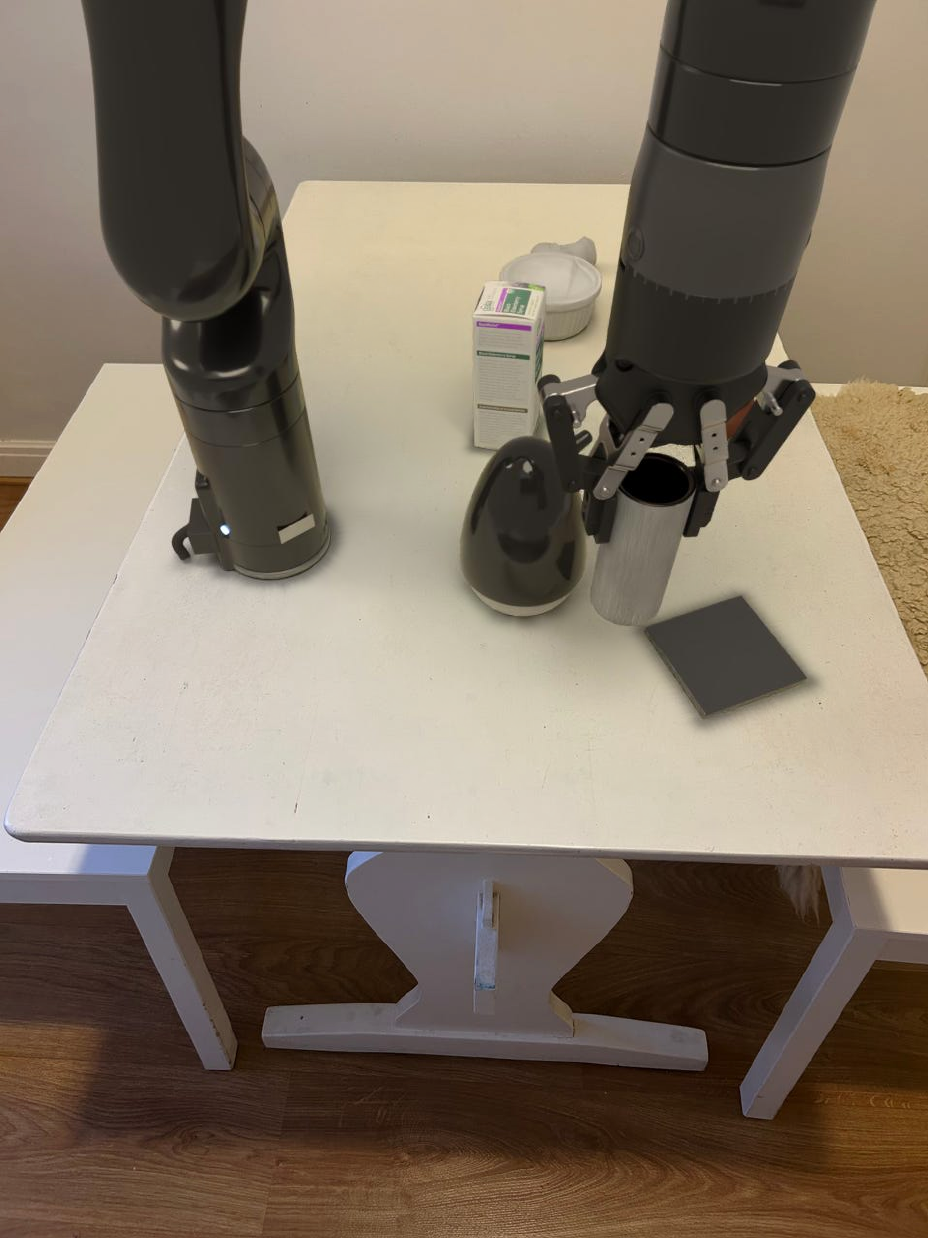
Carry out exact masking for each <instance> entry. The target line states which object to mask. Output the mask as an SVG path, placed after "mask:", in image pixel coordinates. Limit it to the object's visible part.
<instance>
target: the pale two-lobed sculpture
mask: <svg viewBox="0 0 928 1238" xmlns="http://www.w3.org/2000/svg"><path fill="white" fill-rule="evenodd" d="M538 252H558V253H564V254H569V255H573V256H576V257H579V258H581V259H583V260H585V261H587V262H589V263H590V264H592V265H593V266H594V267H595V265H596V263H597V260H598V256H597V255H598V254H597V248H596V245H595V242H594V240H593V239H591V238H589V237H587V236H582V237H581V238H580V239H578V240H577V241H575V242H572V243H566V244H559V243H556V242H548V241H547V242H539V243H537V244H535V245H534V246H533V247H532V248H531V250H530V252H529V254H531V253H538Z"/></svg>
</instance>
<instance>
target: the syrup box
mask: <svg viewBox="0 0 928 1238" xmlns="http://www.w3.org/2000/svg"><path fill="white" fill-rule="evenodd" d="M546 291H547V289H546V287H545V286H540V285H535V284H529V283H522V282H510V281H499V280H494V281H493V280H491V281H490V280H485V281H484V285H483V287H482V289H481V292H480V294H479V296H478V298H477V301H476V303H475V306H474V309H473V311H472V314H471V326H472V329H471V331H472V332H471V333H472V334H471V335H472V338H471V339H472V399H473V400H472V402H473V403H472V404H473V406H472V407H473V446H475V447H477V448H481V449H488V450H493V451H497V450H498V449H499V448H500V447H501V446H502V445H504V444H505V443H506V442H508V441H510V440H512V439H514V438H517V437H520V436H536V435H537V430H538V427H539V422H540V418H541V417H540V416H541V402H540V397H539V393H538V389H537V383H538V381H539V380H540V379H541V378H542V377H543V364H544V345H545V340H544V329H545V309H546Z"/></svg>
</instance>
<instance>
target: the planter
mask: <svg viewBox="0 0 928 1238" xmlns="http://www.w3.org/2000/svg"><path fill="white" fill-rule="evenodd" d="M695 490H696V479H695V476H694V474H693V472H692V471H691V470H690V468H689V467H688V465H686V463H684V462H683V461H681V460H680V459H678V458H677V457H674V456H672V455H670V454H666V453H662V452H654V451H647V452H646V454H645V455H644V457H643V459H642V460H641V462H640V463H639V465H638V467H637V468H636V469H635V470H634V471H628V473H627V474H626V476H625V478H624V479H623V481H622V483H621V484H620V486H619V487H618V489H617V491H616V495H617V498H618V501H617V506H616V511H615V516H614V521H613V526H612V531H611V536H610V541H609V543H606V544H598V549H597V554H596V558H595V565H594V569H593V573H592V580H591V585H590V592H589V600H590V604H591V606H592V608H593V610H594V611H595V613H596V614H598V615H599V616H600V617H601V618H602V619H604V620H605V621H607V622H608V623H611V624H614V625H617V626H621V627H637V626H641V625H644V624H647V623H649V622H651V621H652V620H653V619H654V618H655V617H656V616H657V615H658V613H659V611H660V608H661V606H662V603H663V600H664V597H665V593H666V590H667V587H668V584H669V581H670V576H671V573H672V570H673V567H674V564H675V561H676V558H677V554H678V551H679V547H680V543H681V540H682V537H683V535H682V534H683V531H684V527H685V524H686V521H687V517H688V514H689V511H690V507H691V504H692V501H693V497H694V494H695Z"/></svg>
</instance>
